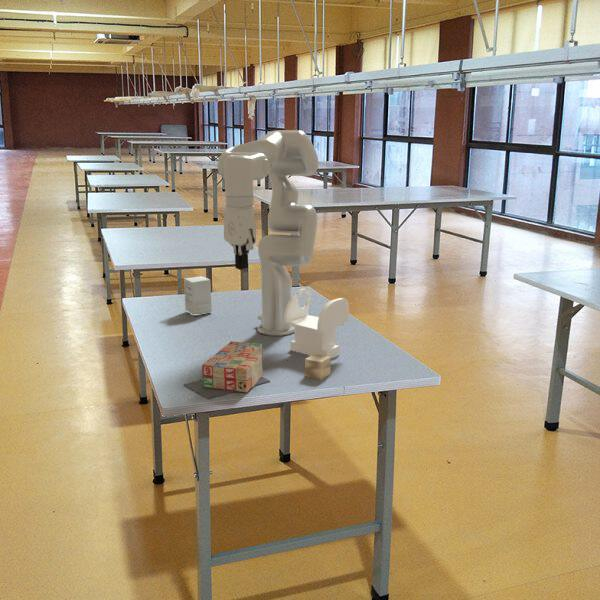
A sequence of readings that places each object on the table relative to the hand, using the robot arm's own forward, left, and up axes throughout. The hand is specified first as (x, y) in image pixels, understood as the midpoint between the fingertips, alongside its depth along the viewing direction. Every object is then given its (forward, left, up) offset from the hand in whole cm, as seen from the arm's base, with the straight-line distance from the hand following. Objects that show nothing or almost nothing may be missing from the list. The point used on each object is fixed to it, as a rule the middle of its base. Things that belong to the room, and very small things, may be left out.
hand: (241, 268), depth 189 cm
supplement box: (-53, +16, -27) cm, 62 cm away
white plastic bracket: (+7, +21, -27) cm, 35 cm away
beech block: (+22, +9, -27) cm, 36 cm away
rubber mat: (+12, -13, -27) cm, 33 cm away
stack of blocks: (+5, -12, -24) cm, 27 cm away
